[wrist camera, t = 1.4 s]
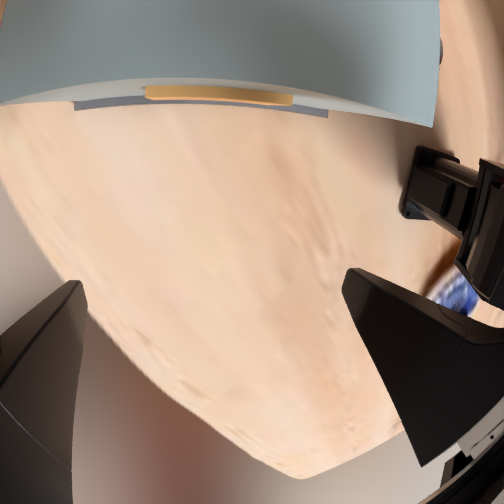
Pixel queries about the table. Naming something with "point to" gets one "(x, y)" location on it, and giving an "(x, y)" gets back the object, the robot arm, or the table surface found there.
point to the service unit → (226, 54)
